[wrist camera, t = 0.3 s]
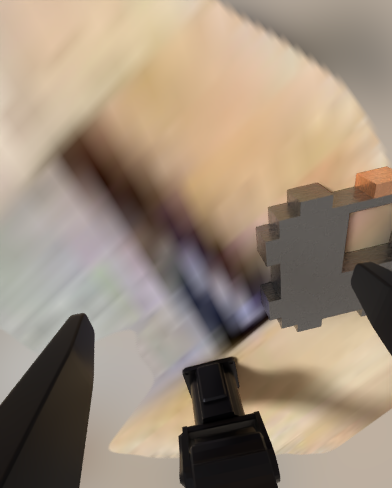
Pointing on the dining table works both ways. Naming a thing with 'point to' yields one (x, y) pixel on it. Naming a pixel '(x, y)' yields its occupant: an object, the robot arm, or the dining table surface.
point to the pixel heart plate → (318, 250)
